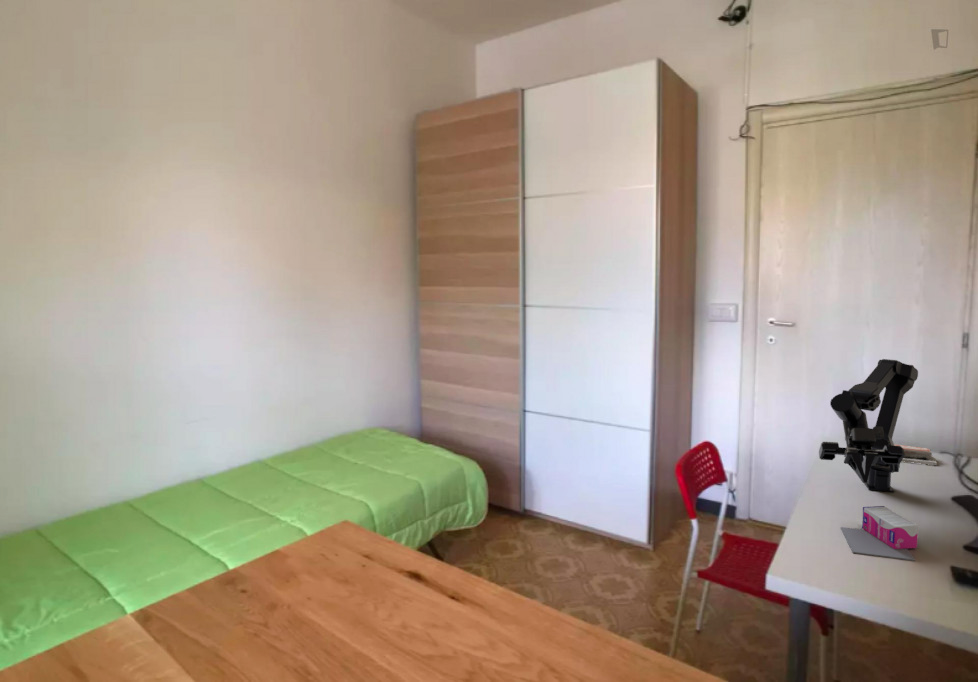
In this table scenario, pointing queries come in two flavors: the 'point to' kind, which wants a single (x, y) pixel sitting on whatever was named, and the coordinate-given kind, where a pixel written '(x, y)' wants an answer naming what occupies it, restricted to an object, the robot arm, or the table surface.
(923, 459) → the packaged product
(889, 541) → the supplement box
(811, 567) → the table surface
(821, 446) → the robot arm
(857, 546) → the mat
